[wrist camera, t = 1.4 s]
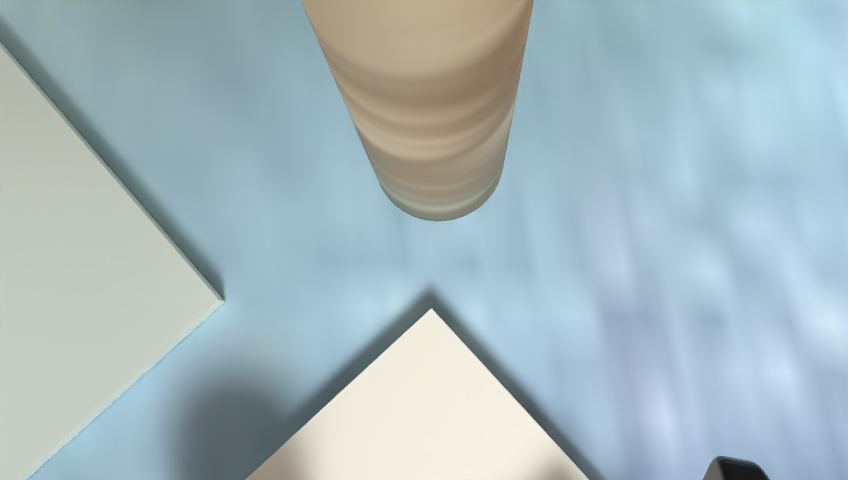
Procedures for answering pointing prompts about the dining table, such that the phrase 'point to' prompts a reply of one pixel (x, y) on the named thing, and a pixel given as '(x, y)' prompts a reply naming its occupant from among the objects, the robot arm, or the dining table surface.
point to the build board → (75, 280)
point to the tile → (421, 422)
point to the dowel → (428, 92)
